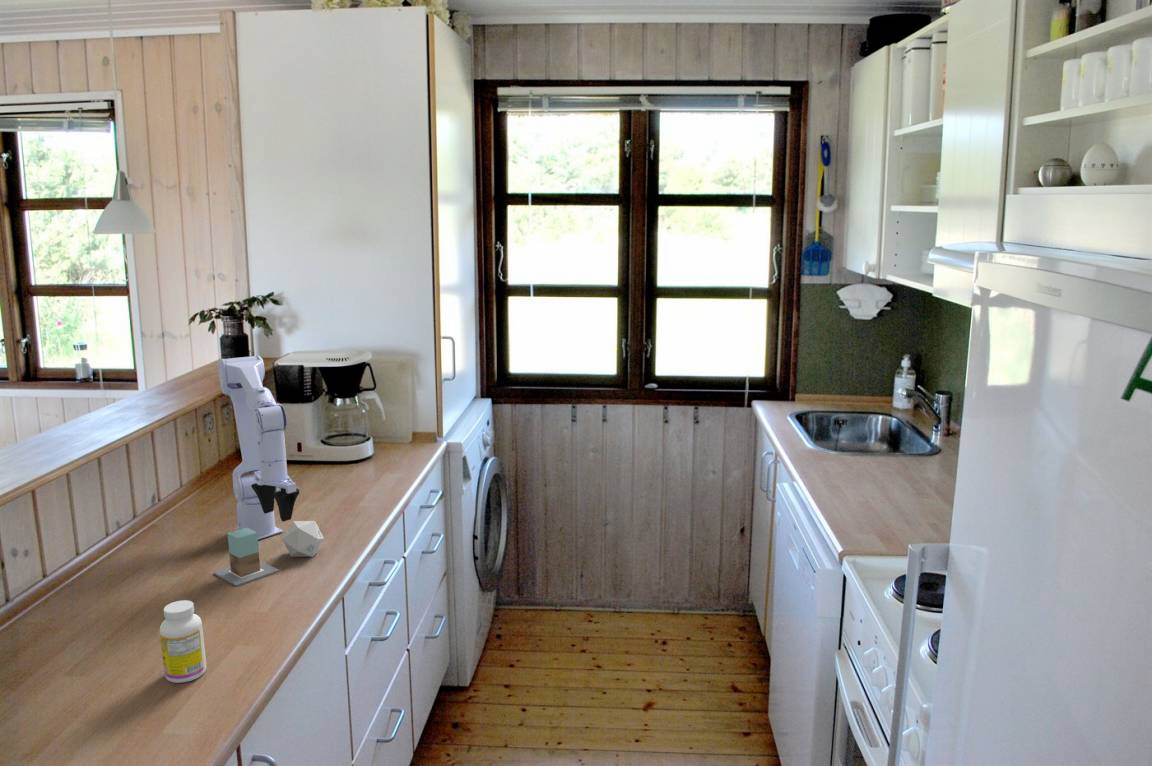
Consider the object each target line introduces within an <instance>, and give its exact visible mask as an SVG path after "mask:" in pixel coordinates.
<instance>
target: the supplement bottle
mask: <svg viewBox="0 0 1152 766" xmlns="http://www.w3.org/2000/svg"><path fill="white" fill-rule="evenodd" d="M194 605H195V604H194V602H193V601H192V600H187V599H185V600H177V601H173V602H170V603H169V604H166V605H165V607H164V608H163V616H164V618H165V619H164V620H163V621H162V623H161V624H160V627H159V636H160V637H159V639H160V644H161V645H160V646H161V653H162V661H163V663H162V664H163V670H164V671H163V672H164V677H165V679H166V680H167V681H168V682H171V683H174V684H180V683H188V682H190V681H191V682H192V681H194V680H196V679H198V678H199V677H200V678H201V676H202V675H203V674H205V672H206V670H207V657H206V649H205V639H204V632H203V631H204V630H203V623H202V619H201V617H200V616H199V615H198V614H195V613H194V612H195V606H194Z"/></svg>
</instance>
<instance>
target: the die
mask: <svg viewBox="0 0 1152 766" xmlns="http://www.w3.org/2000/svg"><path fill="white" fill-rule="evenodd" d="M324 539H325V537H324V536H323V534H322V532H321V530H320V527H319V526H318V524H317V522H316V520H292V522H291V524H290V526H289V527H288V529H287V531H286V532H285V533H284V535H283V537H282V542H283V544H284V547H286V549H287V551H288V553H289V554H290V556H291V558H313V557H315V555H316V554H317V551H319V548H320V546H321V544H322V543H323V541H324Z"/></svg>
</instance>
